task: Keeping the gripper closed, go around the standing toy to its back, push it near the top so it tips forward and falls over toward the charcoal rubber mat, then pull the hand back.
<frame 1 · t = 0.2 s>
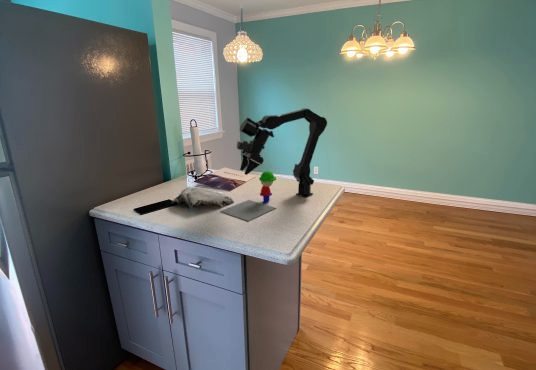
hand: (243, 172, 136), 15 cm above the worktop, tool tilted 30°, fingers open, 9 cm apart
toy: (268, 202, 143), on the worktop
stone fragment: (201, 203, 144), on the worktop
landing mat: (248, 210, 133), on the worktop
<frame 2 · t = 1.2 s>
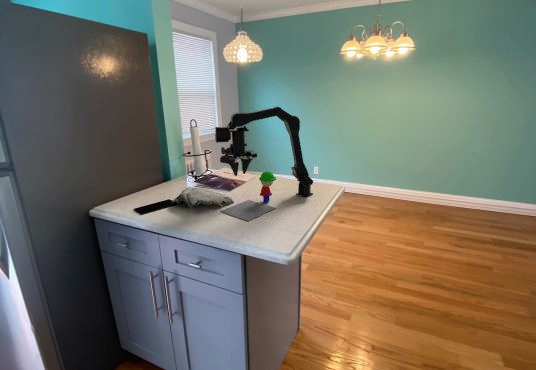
hand: (240, 174, 140), 13 cm above the worktop, tool pointing down, fingers open, 5 cm apart
nothing on the worktop moved.
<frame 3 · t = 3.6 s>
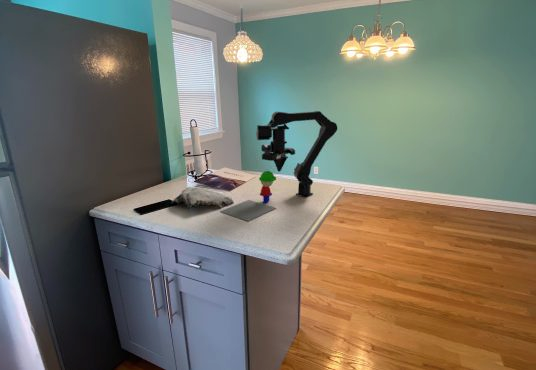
hand: (279, 171, 146), 13 cm above the worktop, tool pointing down, fingers closed
nothing on the worktop moved.
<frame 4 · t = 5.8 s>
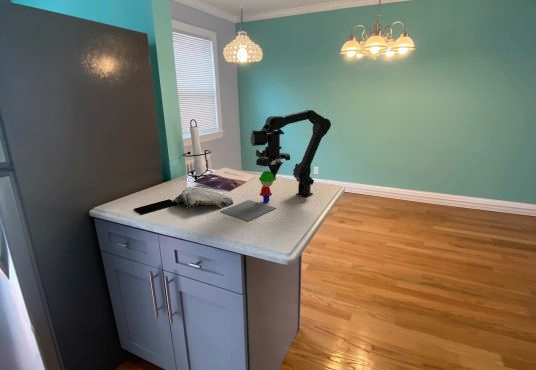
hand: (273, 177, 143), 11 cm above the worktop, tool pointing down, fingers closed
toy: (268, 202, 143), on the worktop, touching gripper
everything else where it was.
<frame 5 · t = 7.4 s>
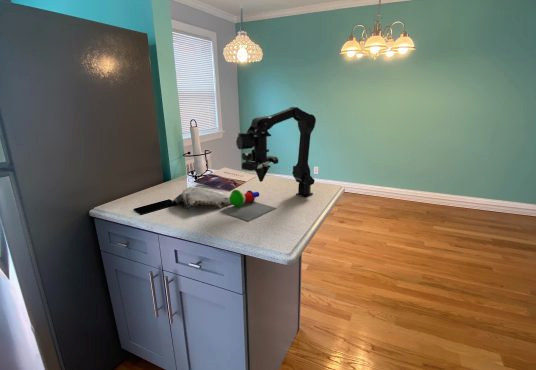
hand: (261, 181, 136), 11 cm above the worktop, tool pointing down, fingers closed
toy: (256, 192, 143), point 4 cm above the worktop, touching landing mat
everything else where it was.
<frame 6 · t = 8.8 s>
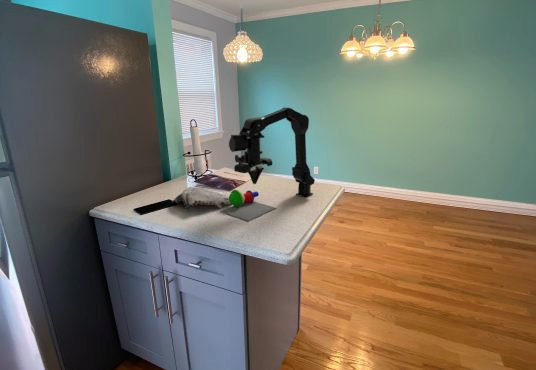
hand: (254, 184, 133), 11 cm above the worktop, tool pointing down, fingers closed
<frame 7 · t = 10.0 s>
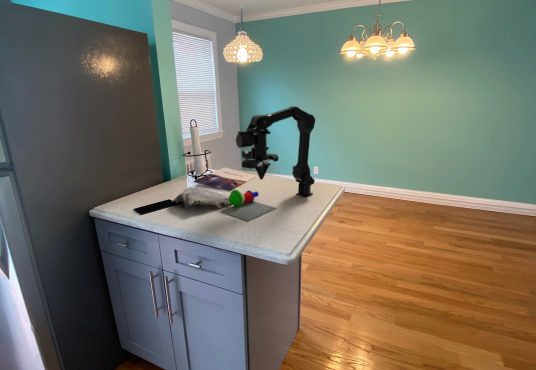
hand: (261, 179, 136), 12 cm above the worktop, tool pointing down, fingers closed
nothing on the worktop moved.
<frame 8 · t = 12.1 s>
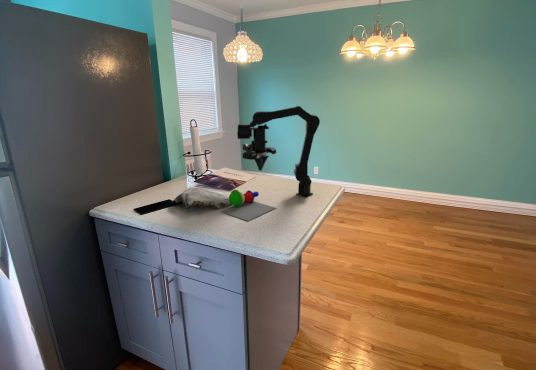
hand: (260, 170, 148), 13 cm above the worktop, tool pointing down, fingers closed
nothing on the worktop moved.
at the end: toy tilted 89°; toy inside the target area (10.1 cm from its centre), point 4.0 cm above the worktop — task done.
